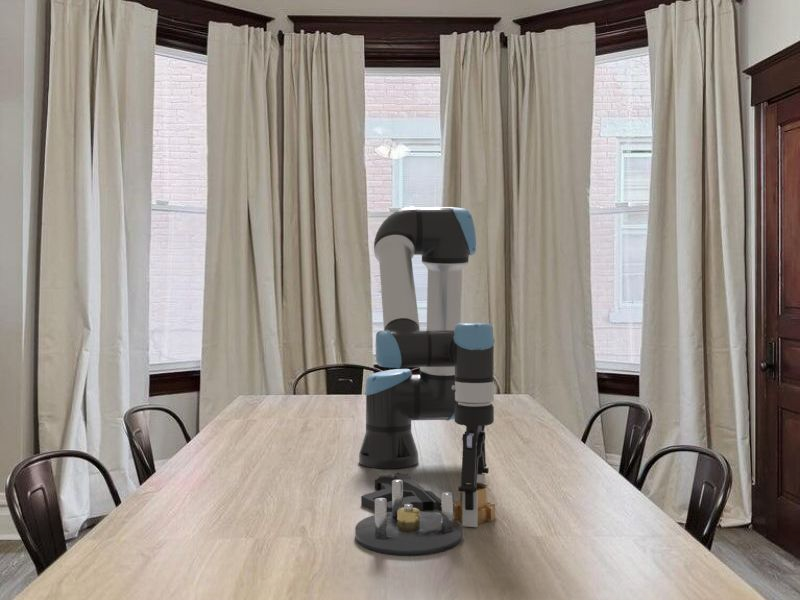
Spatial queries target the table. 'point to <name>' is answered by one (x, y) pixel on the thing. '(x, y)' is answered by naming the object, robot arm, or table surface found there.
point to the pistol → (410, 494)
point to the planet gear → (484, 508)
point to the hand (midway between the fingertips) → (474, 516)
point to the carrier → (408, 527)
